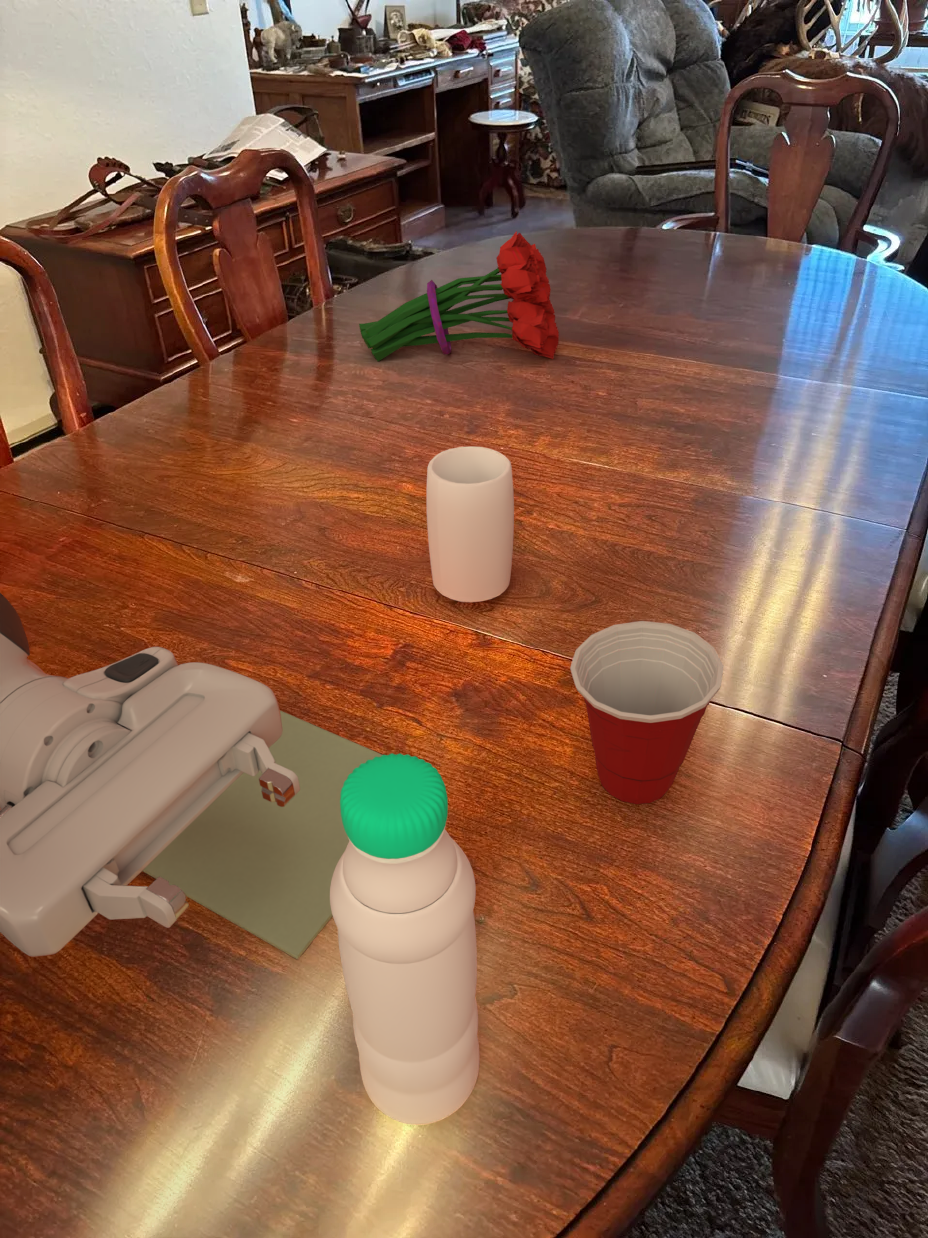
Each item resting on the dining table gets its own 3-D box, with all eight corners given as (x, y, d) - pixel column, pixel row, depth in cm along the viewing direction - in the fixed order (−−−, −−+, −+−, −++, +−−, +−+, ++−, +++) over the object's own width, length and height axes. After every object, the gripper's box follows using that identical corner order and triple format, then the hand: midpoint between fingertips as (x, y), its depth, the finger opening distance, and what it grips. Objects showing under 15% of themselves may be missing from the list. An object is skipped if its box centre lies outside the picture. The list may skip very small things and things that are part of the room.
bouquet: (379, 374, 154) (556, 331, 150) (374, 417, 141) (568, 371, 137) (342, 256, 142) (533, 206, 138) (333, 291, 129) (543, 236, 125)
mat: (297, 960, 61) (296, 956, 61) (107, 851, 69) (106, 848, 68) (440, 782, 73) (439, 779, 73) (265, 706, 81) (264, 703, 80)
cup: (530, 589, 94) (533, 464, 85) (470, 625, 89) (467, 497, 81) (473, 556, 99) (470, 435, 90) (413, 588, 94) (405, 464, 86)
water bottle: (361, 1136, 52) (306, 857, 37) (362, 1018, 58) (314, 733, 43) (485, 1124, 53) (481, 843, 37) (474, 1008, 58) (466, 722, 43)
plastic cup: (563, 725, 78) (571, 613, 71) (693, 732, 77) (714, 619, 70) (562, 826, 70) (570, 710, 62) (708, 835, 69) (733, 718, 61)
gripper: (-107, 843, 48) (74, 961, 42) (174, 630, 62) (340, 698, 56) (-63, 915, 52) (109, 1032, 46) (193, 700, 66) (349, 770, 60)
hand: (238, 847), depth 51 cm, fingers open, 8 cm apart
